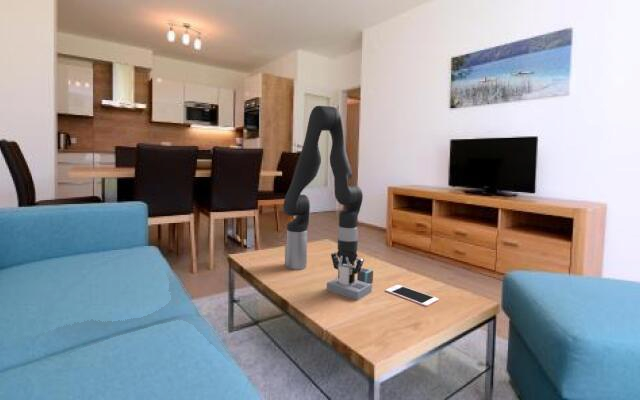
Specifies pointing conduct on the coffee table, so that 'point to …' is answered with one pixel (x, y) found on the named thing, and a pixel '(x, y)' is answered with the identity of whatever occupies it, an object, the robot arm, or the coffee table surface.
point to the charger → (344, 275)
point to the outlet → (350, 288)
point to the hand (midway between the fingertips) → (346, 281)
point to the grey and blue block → (365, 276)
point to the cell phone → (412, 295)
